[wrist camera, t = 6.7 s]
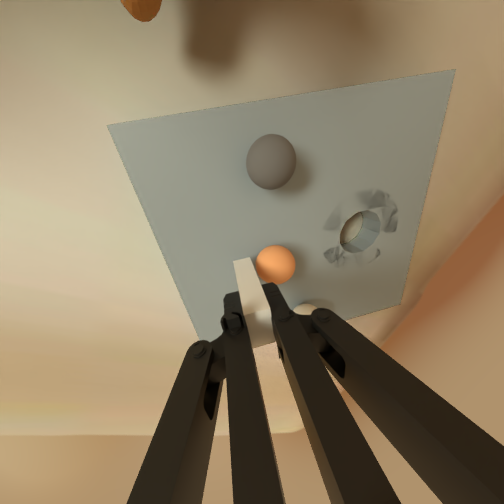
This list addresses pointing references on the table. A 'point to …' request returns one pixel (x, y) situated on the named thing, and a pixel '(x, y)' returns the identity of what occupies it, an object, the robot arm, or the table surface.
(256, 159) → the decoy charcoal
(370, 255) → the grey flat plate
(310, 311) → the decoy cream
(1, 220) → the table surface
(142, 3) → the toy
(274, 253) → the ball
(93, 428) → the table surface
